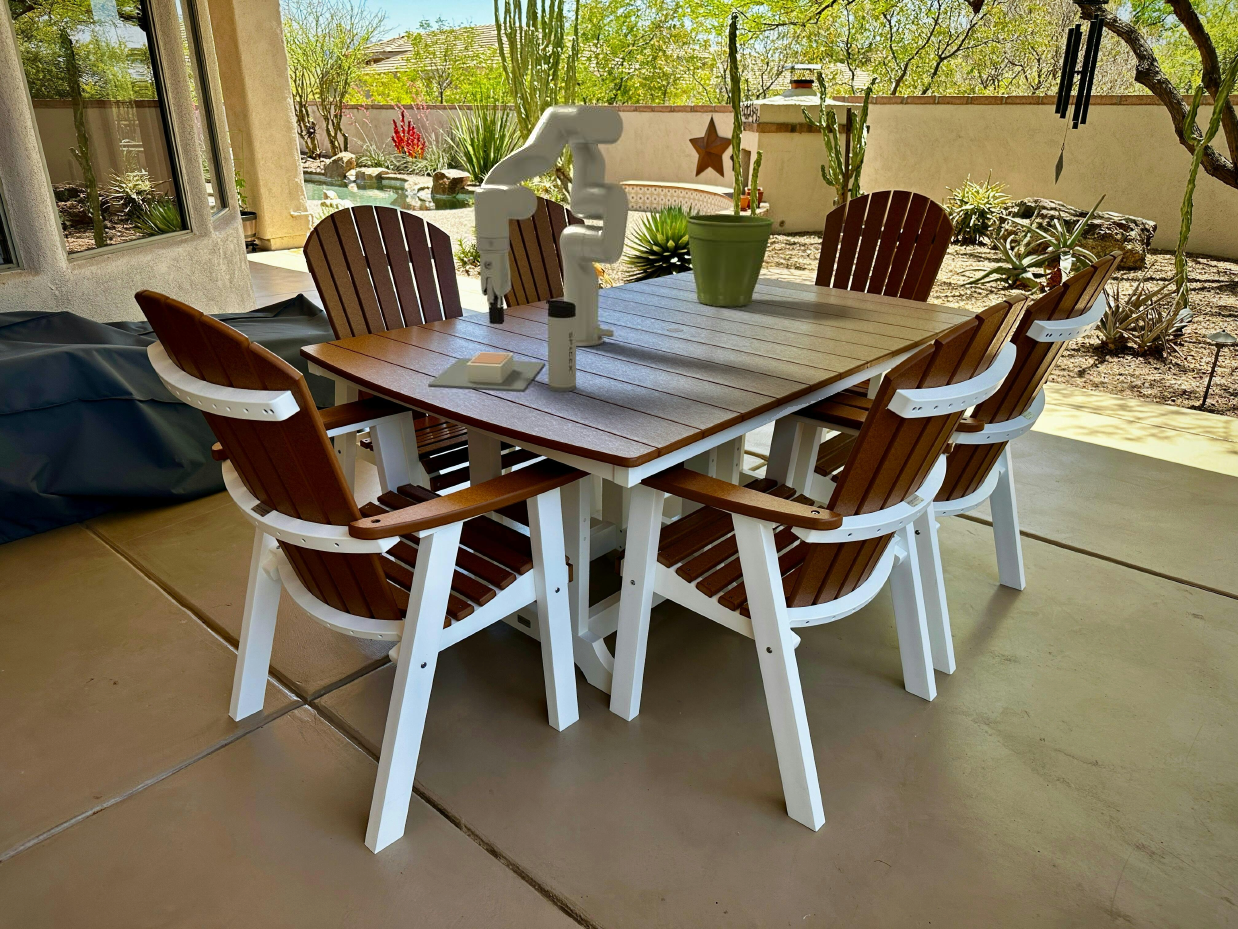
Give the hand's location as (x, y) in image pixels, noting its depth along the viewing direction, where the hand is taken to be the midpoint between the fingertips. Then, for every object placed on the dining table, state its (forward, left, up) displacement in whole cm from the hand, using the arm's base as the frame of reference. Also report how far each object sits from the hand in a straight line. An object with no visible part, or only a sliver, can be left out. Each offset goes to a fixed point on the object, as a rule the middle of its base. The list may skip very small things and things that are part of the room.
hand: (497, 323), depth 193 cm
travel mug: (-18, +12, -12) cm, 25 cm away
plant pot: (-55, -102, -12) cm, 116 cm away
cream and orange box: (0, 0, -9) cm, 9 cm away
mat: (+1, +4, -12) cm, 12 cm away
